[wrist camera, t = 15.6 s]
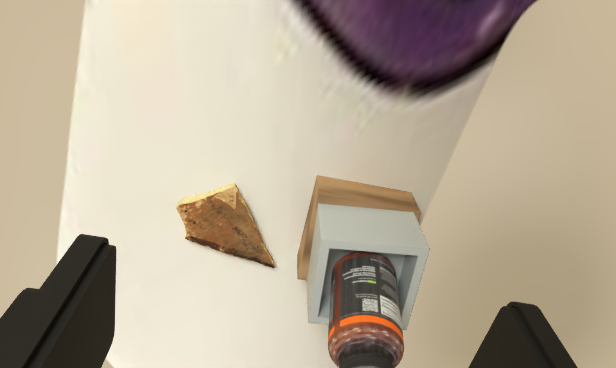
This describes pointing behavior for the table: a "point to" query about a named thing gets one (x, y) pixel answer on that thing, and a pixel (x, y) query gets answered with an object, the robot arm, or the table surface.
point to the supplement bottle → (365, 313)
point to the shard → (223, 224)
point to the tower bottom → (351, 196)
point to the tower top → (364, 237)
